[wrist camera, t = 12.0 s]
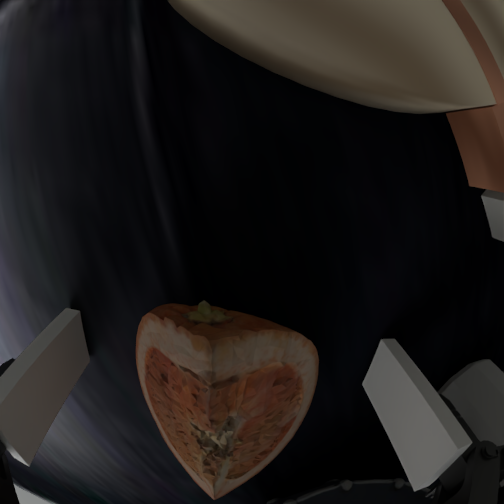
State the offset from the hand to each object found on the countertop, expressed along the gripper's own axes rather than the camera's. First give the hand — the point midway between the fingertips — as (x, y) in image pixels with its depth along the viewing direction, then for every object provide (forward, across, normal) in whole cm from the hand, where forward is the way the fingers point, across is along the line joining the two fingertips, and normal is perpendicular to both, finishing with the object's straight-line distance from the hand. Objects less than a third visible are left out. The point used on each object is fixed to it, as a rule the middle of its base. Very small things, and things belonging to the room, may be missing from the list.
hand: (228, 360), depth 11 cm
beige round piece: (-1, +4, +17) cm, 18 cm away
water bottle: (0, +15, -4) cm, 15 cm away
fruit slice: (0, 0, 0) cm, 0 cm away
